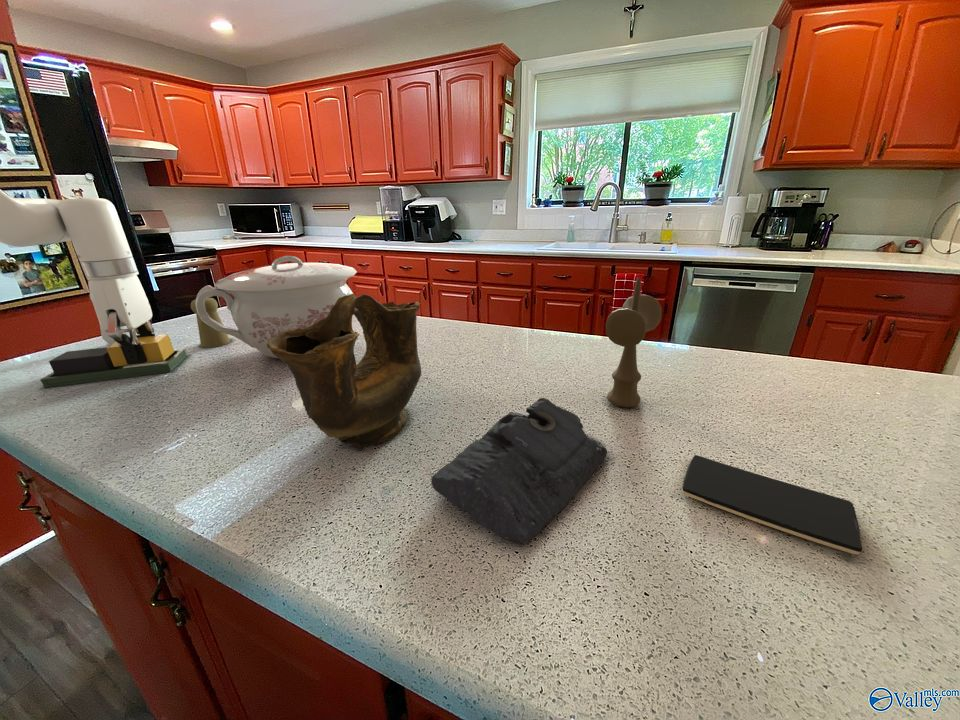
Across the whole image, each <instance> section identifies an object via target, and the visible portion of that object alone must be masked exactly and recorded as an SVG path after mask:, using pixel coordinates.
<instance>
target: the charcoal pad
mask: <svg viewBox="0 0 960 720" xmlns="http://www.w3.org/2000/svg"><path fill="white" fill-rule="evenodd" d="M107 347H108V346H106V347H105V346H104V347H97V348H88V349H77V350H68V351H65V352H63V353H62V354H59V355H58V356H56V357H54V358H52V359H50V360H49V361H48V363H49V365H50V367H51V369H52V371H53V372H54V373H55V375H56V376H64V375H73V374H81V373H89V372H98V371H106V370H114V369H118V368H119V367H120V366H116V367H114V365H113V363H112V360H111V358H110V355H109V353H108V351H107Z"/></svg>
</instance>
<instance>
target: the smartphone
mask: <svg viewBox="0 0 960 720" xmlns="http://www.w3.org/2000/svg"><path fill="white" fill-rule="evenodd" d="M681 487H682V488H681V493H682V494H683V495H684V496H687V497H690V498H692V499H695V500H697V501H700V502H702V503H704V504H706V505H707V504H708V505H710V506H712V507H715V508H718V509H721V510H723V511H726V512H729V513H731V514H734V515H735V516H736V515H737V516H740V517H742V518H745V519H748V520H750V521H753V522H756V523H759V524H761V525H764V526H767V527H770V528H773V529H776V530H779V531H781V532H784V533H787V534H789V535H794V536H795V537H799V538H802V539H805V540H808V541H811V542H814V543H817V544H820V545H824V546H827V547H830V548H833V549H836V550H839V551H843V552H846V553H849V554H853V555H857V556H858V555H860V554H861V553H862V552H863V546H862V537H861V529H860V524H859V520H858V517H857V514H856V509H855V506H854V503H853V502H852V501H850V500H847V499H844V498H842V497H837V496H834V495H831V494H826V493H823V492H820V491H817V490H813V489H810V488H807V487H802V486H799V485H796V484H792V483H790V482H789V483H788V482H786V481H782V480H778V479H776V478H772V477H769V476H765V475H762V474H758V473H755V472H752V471H748V470H745V469H742V468H739V467H735V466H732V465H729V464H726V463H723V462H719V461H717V460H713V459H710V458H707V457H705V456H704V457H703V456H701V455H698V454H694V455H693V456H692V458H691V460H690V462H689V464H688V466H687V469H686V472H685V474H684V478H683V481H682V485H681Z"/></svg>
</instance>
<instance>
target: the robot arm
mask: <svg viewBox="0 0 960 720" xmlns="http://www.w3.org/2000/svg"><path fill="white" fill-rule="evenodd" d="M70 241H71V244H72V245H73V248H74V251H75V253H76V257H77V259H78V261H79V263H80V266H81V268H82V270H83V273H84V275H85V278H86V280H87V285H88V290H89V296H90V295H91V299H92V301H91V302H92V305H93V308H94V311H95V314H96V317H97V320H98V322H99V323H100V324H99V326H100V325H101V328H102V330H103V331H105V332H107V333H108V336H109V337H111V338H113V339H114V340H115V341H116V342H117V344H118V346H120V347H121V350H122V352H123V355H124V357H125V360H126V362H127V364H129V365H130V364H138V363H145V362H147V358H146V356H145V353H144V350H143V348H142V345H141V343H138V341H137V338H138V337H147V336H156V334H155V329H154V326H153V320H152V318H153V311H152V308H151V307H152V306H151V304H150V302H149V299H148V297H147V295H146V292H145V290H144V287H143V286H142V283H141V280H140V279H139V277H138V275H139V274H140V273H139V270H138V268H137V267H138V266H137V265H136V262H135V259H134V257H133V253H132V250H131V248H130V244H129V242H128V239H127V237H126V233H125V231H124V228H123V225H122V223H121V220H120V216H119V215H118V211H117V209H116V207H115V205H114V204H113V203H112V201H110V200H108V199H106V198H98V197H95V198H94V197H87V198H86V197H82V198H81V197H79V198H65V199H54V198H40V197H39V198H32V197H11V196H10V195H8V194H7V193H6V192H4V191H3V190H2V189H0V243H1V244H3V245H4V244H5V245H8V246H12V247H18V248H19V247H20V248H27V247H34V246H41V245H50V244H57V243H65V242H70ZM91 299H90V300H91ZM122 326H127V327H126V328H128V329H120V327H122ZM126 332H129V334H130V337H129V336H128V335H126V334H122V333H126Z"/></svg>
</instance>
